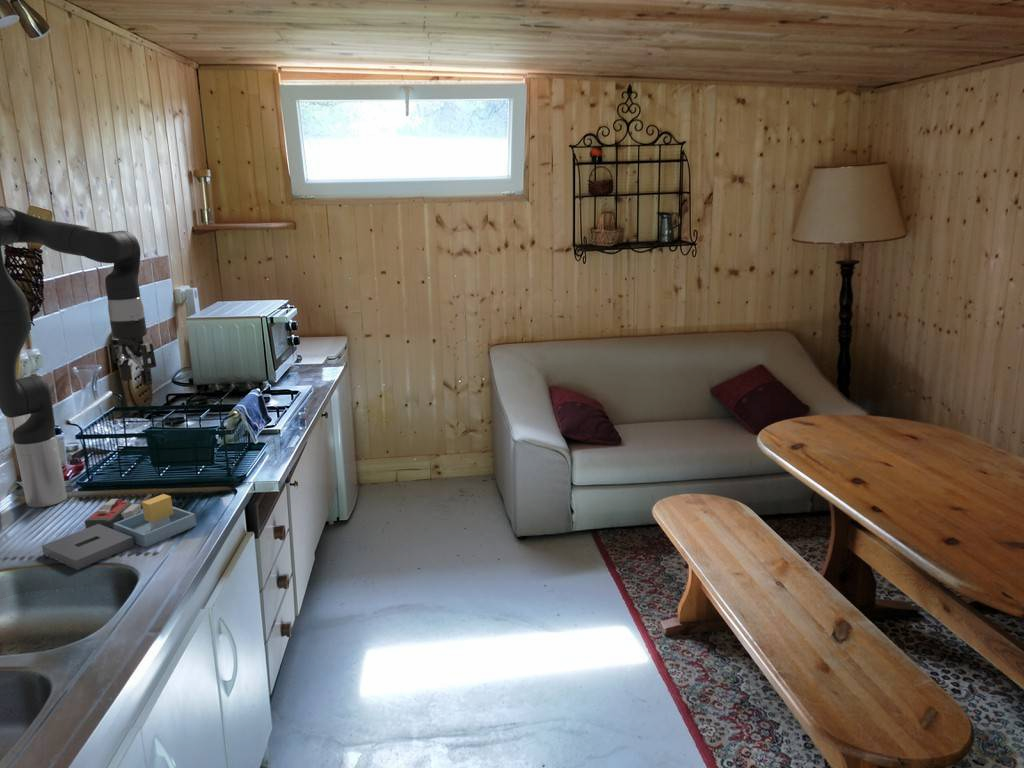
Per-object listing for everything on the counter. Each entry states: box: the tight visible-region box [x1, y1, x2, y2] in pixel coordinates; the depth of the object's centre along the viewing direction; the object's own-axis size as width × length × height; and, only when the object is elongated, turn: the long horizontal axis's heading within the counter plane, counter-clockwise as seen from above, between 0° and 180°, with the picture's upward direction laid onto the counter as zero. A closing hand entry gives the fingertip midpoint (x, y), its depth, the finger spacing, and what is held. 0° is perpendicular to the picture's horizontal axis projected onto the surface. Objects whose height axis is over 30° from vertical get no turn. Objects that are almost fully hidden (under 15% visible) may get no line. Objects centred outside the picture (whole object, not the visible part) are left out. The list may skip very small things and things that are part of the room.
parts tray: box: [113, 505, 197, 548], centre depth 185 cm, size 12×13×3 cm
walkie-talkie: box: [84, 493, 153, 530], centre depth 195 cm, size 9×4×20 cm
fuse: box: [141, 493, 174, 530], centre depth 186 cm, size 3×6×7 cm, turn 146°
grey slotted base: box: [41, 524, 135, 571], centre depth 176 cm, size 14×13×2 cm
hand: (137, 382), depth 190 cm, fingers open, 8 cm apart
